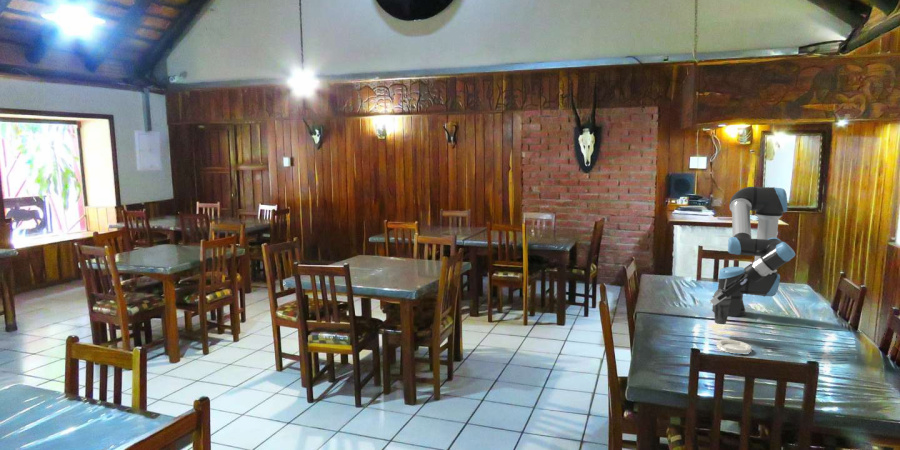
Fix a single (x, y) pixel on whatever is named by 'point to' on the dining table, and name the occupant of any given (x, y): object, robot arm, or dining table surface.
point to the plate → (733, 346)
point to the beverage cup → (721, 307)
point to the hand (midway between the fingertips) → (713, 300)
